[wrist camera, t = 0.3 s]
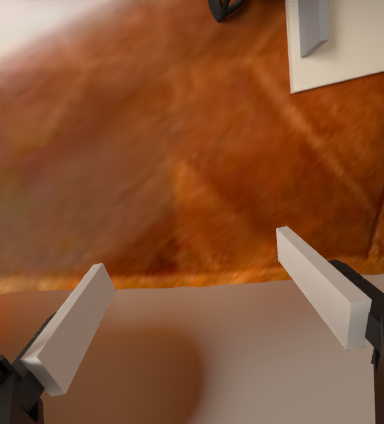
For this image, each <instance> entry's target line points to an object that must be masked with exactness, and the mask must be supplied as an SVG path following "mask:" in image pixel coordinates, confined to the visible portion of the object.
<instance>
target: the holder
mask: <svg viewBox="0 0 384 424" xmlns="http://www.w3.org/2000/svg"><path fill="white" fill-rule="evenodd" d="M208 2H209V7H210V9H211V12H212V14H213V16H214V18H215V19H216V21H217V22H220V21H221V20H222V19H223V18H224V17H226V16H228V15H230V14H232V13H233V12H234V11H236V10H237V9H238V8H239V7H240V6H241V4H242V3H243V2H244V0H236V1H235V2H234V3H233V4H232V5H230V6H229V3H230V0H224V1H223V5H222V9H221V5H220V2H219V0H208ZM228 6H229V7H228Z"/></svg>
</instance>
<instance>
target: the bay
mask: <svg viewBox="0 0 384 424" xmlns="http://www.w3.org/2000/svg"><path fill="white" fill-rule="evenodd" d="M285 6H286V22H287V38H288V54H289V70H290V86H291V94H293V93H297V92H301V91H305V90H309V89H313V88H317V87H322V86H326V85H330V84H334V83H338V82H342V81H346V80H350V79H355V78H359V77H363V76H367V75H371V74H375V73H379V72H384V0H285Z"/></svg>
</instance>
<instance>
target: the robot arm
mask: <svg viewBox="0 0 384 424" xmlns="http://www.w3.org/2000/svg"><path fill="white" fill-rule="evenodd" d="M276 230H277V246H278V260H279V261H280V263H281V264H282V265H283V267H284V268H285V269H286V271H287V272H288V273H289V275H290V276H291V277H292V279H293V280H294V281H295V283H296V284H297V285H298V287H299V288H300V289H301V291H302V292H303V293H304V295H305V296H306V297H307V299H308V300H309V301H310V303H311V304H312V305H313V307H314V308H315V309H316V311H317V312H318V313H319V314H320V316H321V317H322V319H323V320H324V321H325V323H326V324H327V325H328V327H329V328H330V329H331V331H332V332H333V333H334V334H335V336H336V337H337V339H338V340H339V341H340V343H341V344H342V345H343V347H344V348H345V349H346V350H350V349H357V348H362V347H364V345H365V339H367V340H368V341H369V342H370V343H371V344H372V345H373V346H374V350H373V355H372V360H371V363H372V364H374V392H375V420H376V421H375V423H376V424H384V293H383V292H381V291H380V290H379V289H377V288H376V287H375V286H374V285H372V284H371V283H370V282H369V281H367V280H366V279H364V278H363V277H362V276H361V275H360V274H358V273H356V271H355V270H353V269H352V268H351V267H350V266H348V265H347V264H345V263H342V262H340V261H338V260H331V261H327V260H325V259H324V258H323V257H322V256H321V255H320V254H318V253H317V252H316V251H315V250H314V249H313V248H312V247H310V246H309V245H308V244H307V243H306V242H305V241H304V240H302V239H301V238H300V237H299V236H298V235H297V234H295V233H294V232H293V231H292V230H291V229H290V228H289V227H287V226H286V227H281V228H276ZM115 291H116V290H115V288H114V286H113V284H112V282H111V279H110V277H109V275H108V273H107V271H106V269H105V267H104V264H103V263H100V264H95V265H93V266H92V267H91V269H90V270H89V271H88V272H87V274H86V275H85V276H84V278H83V279H82V280H81V282H80V283H79V284H78V285H77V287H76V288H75V289H74V291H73V292H72V293H71V295H70V296H69V297H68V299H67V300H66V301H65V303H64V304H63V305H62V306H61V308H60V309H59V310H58V311H57V312H55V313H54V314H53V315H52V316H51V317H50V318H49V319H47V320H46V322H45V323H44V324H43V325H42V327H41V328H40V330H39V331H38V332H37V333H36V334H35V335H34V338H32V339H31V340H30V342H29V343H28V344H27V345H26V347H25V348H24V349H23V350H22V352H21V353H20V354H19V356H18V357H17V358H16V359H15V361H14V362H13V363H12V364H10V363H9V362H8V360H7V359H6V358H5V357H4V356H3V355H0V424H44V417H43V402H42V399H41V398H40V396H41V394H42V393H43V391H44V389H45V390H46V391H47V392H48V394H49V395H50V396H55V395H61V394H66V392H67V390H68V388H69V386H70V384H71V381H72V379H73V377H74V375H75V373H76V371H77V369H78V367H79V365H80V363H81V361H82V359H83V357H84V355H85V353H86V351H87V349H88V347H89V344H90V342H91V341H92V338H93V336H94V334H95V332H96V330H97V328H98V326H99V324H100V322H101V320H102V318H103V316H104V314H105V312H106V310H107V308H108V306H109V304H110V301H111V299H112V297H113V295H114V293H115Z"/></svg>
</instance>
